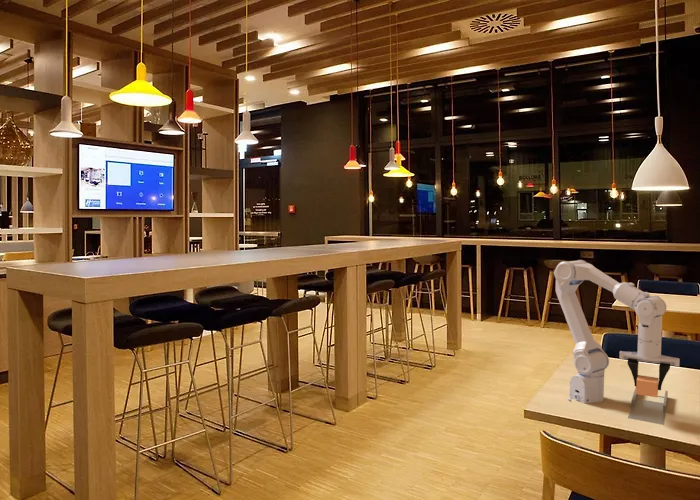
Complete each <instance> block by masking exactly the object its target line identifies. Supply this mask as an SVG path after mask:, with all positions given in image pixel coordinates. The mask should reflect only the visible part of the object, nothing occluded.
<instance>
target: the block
mask: <svg viewBox="0 0 700 500" xmlns="http://www.w3.org/2000/svg"><path fill="white" fill-rule="evenodd" d="M658 383H659V377H654V376H646V375H640V374H638V377H637V384H636V386H635V388H636V394H638V395H640V396H645V397H652V398H658V397H657V396H659V390H658ZM638 395H637V396H638Z"/></svg>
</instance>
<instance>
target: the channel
mask: <svg viewBox="0 0 700 500" xmlns="http://www.w3.org/2000/svg"><path fill="white" fill-rule="evenodd" d="M668 394H669V392H668V390H665V392H664V396H661V395H657V397H656V398H662V399H663V402H659V401H652V400H648V399H640V398H638V394H636V387H635V389H634V392H633V394H632V398H631V403H630V404H631V405H630V410H629V413H628V416H627V419H631V420H636V421H640V422H647V423H653V424H656V425H657V424H658V425H665V418H666V410H667V404H668V396H669V395H668Z"/></svg>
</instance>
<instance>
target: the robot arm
mask: <svg viewBox="0 0 700 500" xmlns="http://www.w3.org/2000/svg"><path fill="white" fill-rule="evenodd" d="M553 275H554V278H555V293H556V297H557V299H558V301H559V304H560V307H561V309H562V312H563V315H564V317H565V321H566V323H567V325H568V329H569V332H570V334H571V336H572V339H573V342H574V344H575V345H574V348H573V351H572V354H573V358H574V359H573V365H574V367H575V369H576V370H577V374H575V375H573V376H572V377H571V378H570V382H569V397H567V400H568V401H573V400H575V401H577V402H579V403H582V404H585V405H587V404H591V403H600V402H601V403H602V402H604V396H605V395H604V394H605V392H604V391H605V371H606V369H607V368H608V366H609V365H610V358H609V356H608V354H607V353H606V352H605V351H604V350H603V348H602V345H601V344H600V343H598V342H597V341H596V340H595V339H594V338H593V335H592V331H591V329H590V327H589V324H588V322H587V319H586V316H585V314H584V311H583V309H582V306H581V304H580V301H579V298H578V295H577V294H576V291H578V290H577V289H578V288H579V286H580V285H581V284H582V283H583V282H584V281H590V282H592V283H593V284H596V285H597V286H599V287H601V288H603V289H605V290H607V291H609V292H611V293H612V294H613V298H614V299H615V300H617V301H618V302H620V303H622V304H624V305H625V306H627V307H628V308H630V309H632V310H633V311H634V312H635V314H636V315H637V317H638V325H637V326H638V327H637V328H638V329H637V351H623V350H620V351H619V359H620V360H627V366H628V368H629V370H630V372H631V375H632V378H633V382H634V387H636V384H637V377H638V375H639V362H645V363H653V364H658V366H659V367H658V368H659V369H658V391H662V385H663V382H664V379H665V378H666V375H667V374H668V372H669V371H670V370H671V369H670V368H671V366H674V367H675V368H676V367H680V362H681V361H680V358H678V357H673V356H667V355H663V354H662V338H663V337H662V335H663V333H662V331H663V315H665V313H666V311H667V304H666V302H665V301H664V300H663V298H661V297H660V296H658V295H650V294H651V293H649V292H648V291H643V290H641V289H639V288H637V287H636V286H635V283H633V282H626V281H624V282H619V281H617V280H616V279H614V278H612V277H611V276H609V275H608V274H606V273H605V272H603V271H601V270H600V269H598V268H596V267H595V266H594V265H593V264H591V263H589V262H587V261H585V260H583V259H577V260H572V261H571V260H570V261H566V260H565V261H560V262H559V263H558V264H557V266H556V267H555V268H554V271H553Z"/></svg>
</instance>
